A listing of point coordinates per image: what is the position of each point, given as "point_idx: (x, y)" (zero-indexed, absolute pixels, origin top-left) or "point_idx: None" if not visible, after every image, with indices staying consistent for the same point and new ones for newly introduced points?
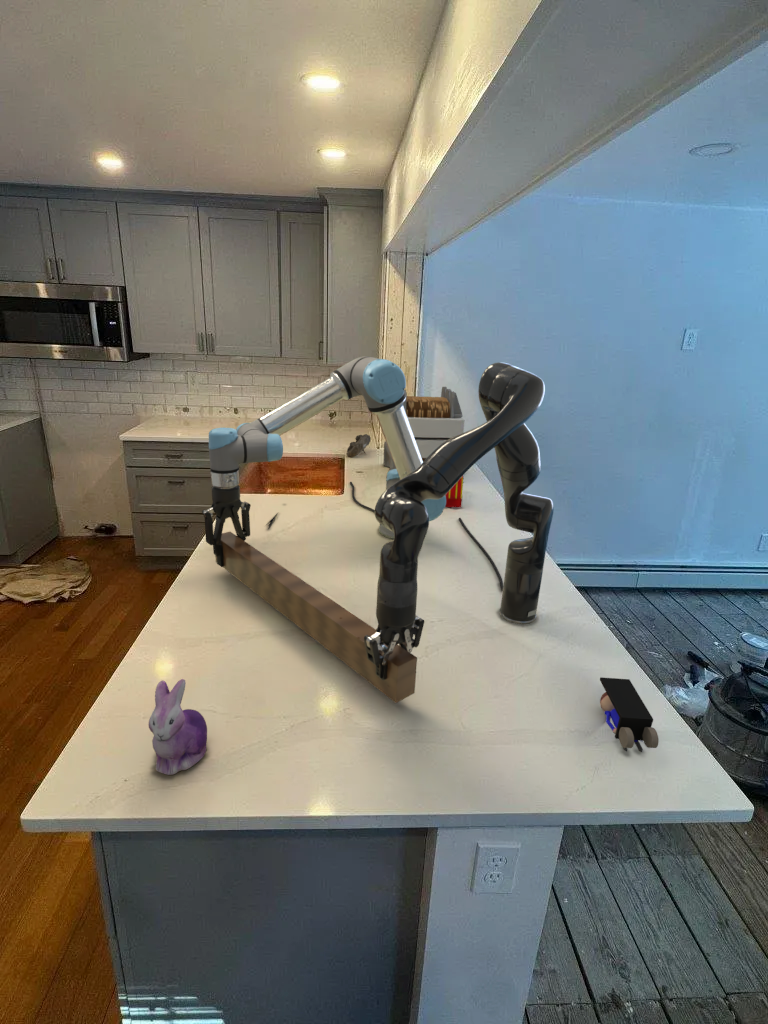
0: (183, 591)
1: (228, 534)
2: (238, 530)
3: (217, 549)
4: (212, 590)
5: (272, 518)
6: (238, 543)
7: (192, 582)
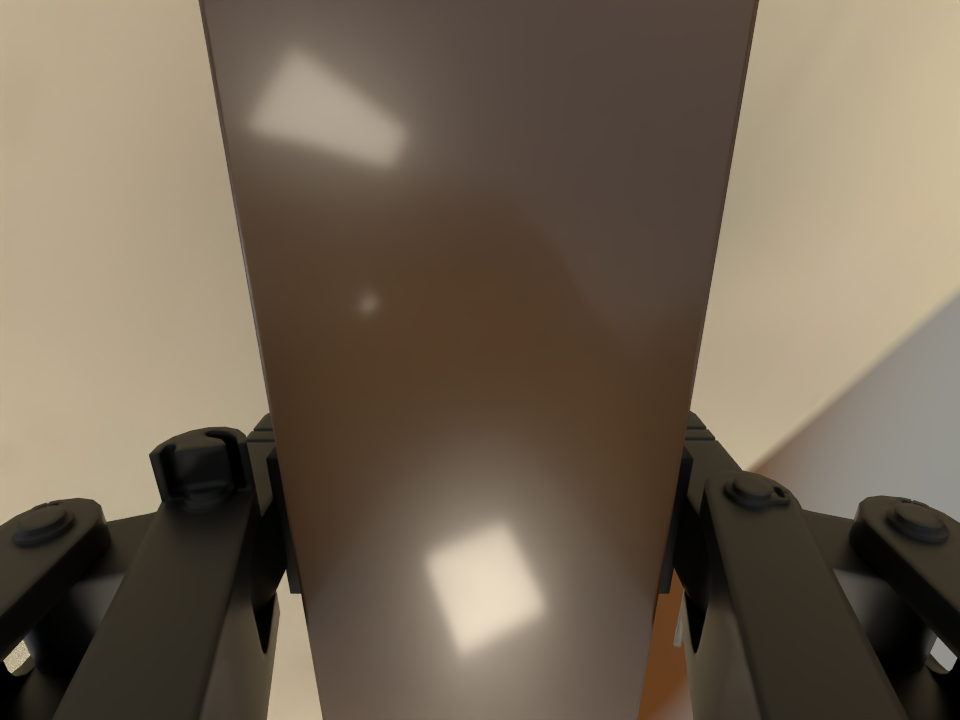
0: (901, 286)
1: (412, 698)
2: (205, 666)
3: (694, 453)
4: (734, 162)
5: None
6: (446, 184)
7: (761, 383)
